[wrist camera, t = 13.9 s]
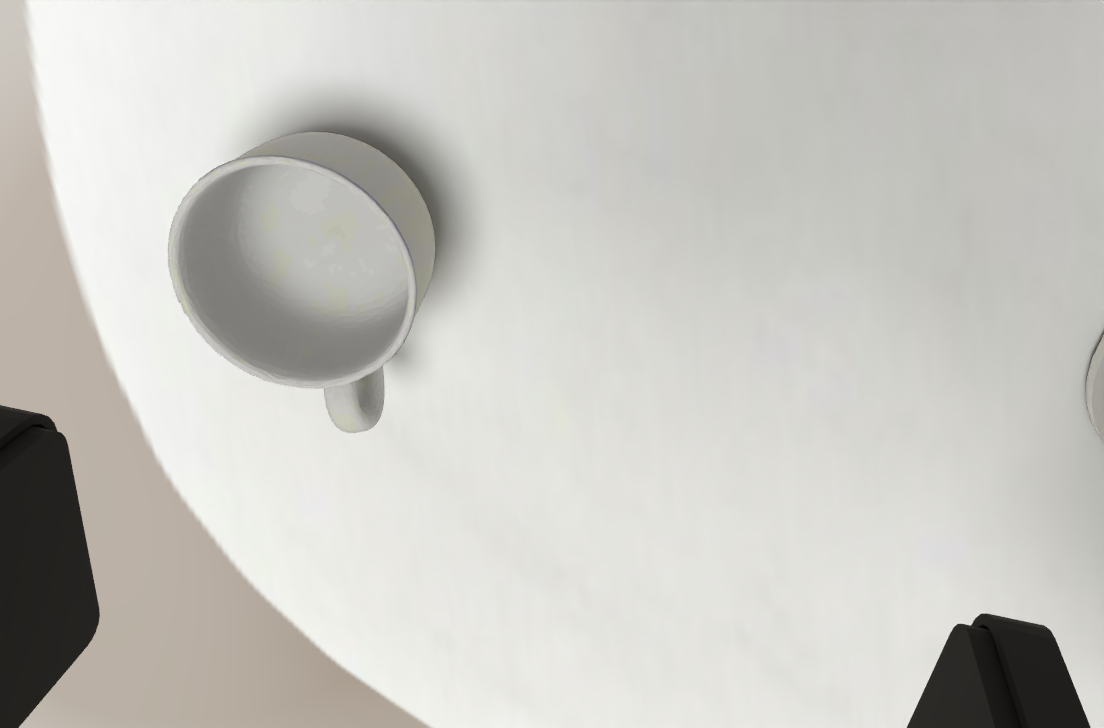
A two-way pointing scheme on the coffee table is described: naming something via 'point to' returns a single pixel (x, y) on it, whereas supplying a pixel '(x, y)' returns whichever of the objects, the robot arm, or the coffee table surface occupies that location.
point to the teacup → (306, 266)
